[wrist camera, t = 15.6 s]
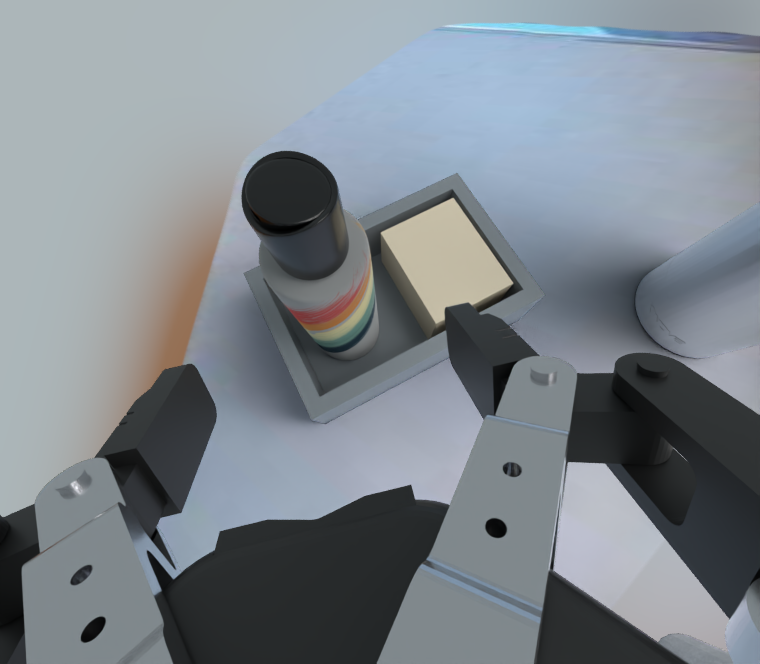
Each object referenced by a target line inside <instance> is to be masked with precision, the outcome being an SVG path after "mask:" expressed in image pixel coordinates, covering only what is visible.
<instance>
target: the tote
mask: <svg viewBox="0 0 760 664" xmlns="http://www.w3.org/2000/svg"><path fill="white" fill-rule="evenodd" d="M452 198H454V199H455V201H456V202H457V203H458V205H459V206H460V208H461V209H462V211H463V212H464V213H465V215H466V216H467V218H468V219H469V221H470V222H471V223H472V225H473V226H474V228H475V229H476V231H477V232H478V233H479V235H480V236H481V238H482V239H483V241H484V242H485V243H486V245H487V246H488V248H489V249H490V251H491V252H492V253H493V255H494V256H495V258H496V259H497V261H498V262H499V263H500V265H501V266H502V268H503V269H504V271H505V272H506V273H507V275H508V276H509V278H510V279H511V281H512V282H513V285H512V286H511V287H510V288H509V290H508V291H507V292H506V293H505V295H504V296H503V297H502V298H501V300H500V301H499V302H498V303H497V304H495V305H493V306H491V307H489V308H487V309H485V310H484V311H482V312H480V313H479V314H480V315H482V314H487V313H489V314H491V315H494V316H496V317H498V318H501V319H502V320H503V321H504V322H505V323H506V324H507V325H510V324H512V323H514V322H516V321H518V320H519V319H520V318H521V317H522V316H524V315H525V314H526V313H527V312H528V311H529V310H530V309H531V308H532V307H533V306H534V305H535V304H536V303H538V302H539V301H540V300H541V299H542V298H543V297H544V296H545V294H544V292H543V291H542V290H541V288H540V287H539V285H538V284H537V283H536V281H535V280H534V279H533V277H532V276H531V274H530V273H529V272H528V270H527V269H526V267H525V266H524V265H523V263H522V262H521V261H520V259H519V258H518V256H517V255H516V254H515V252H514V251H513V249H512V248H511V247H510V245H509V244H508V243H507V241H506V240H505V238H504V237H503V236H502V234H501V233H500V231H499V230H498V229H497V227H496V226H495V225H494V223H493V222H492V220H491V219H490V218H489V216H488V215H487V213H486V212H485V211H484V209H483V208H482V207H481V205H480V204H479V202H478V201H477V200H476V198H475V197H474V195H473V194H472V193H471V191H470V190H469V189H468V187H467V186H466V184H465V183H464V182H463V180H462V179H461V177H460V176H459V175H458V173H456V174H454V175H452V176H450V177H447V178H445V179H443V180H441V181H439V182H437V183H435V184H433V185H430V186H428V187H426V188H424V189H422V190H420V191H418V192H416V193H413V194H411V195H409V196H407V197H405V198H403V199H401V200H398V201H396V202H394V203H392V204H390V205H388V206H386V207H384V208H381V209H379V210H377V211H375V212H373V213H371V214H369V215H367V216H364V217H362V218H360V219H358V221H359V223H360V224H361V225H362V227H363V229H364V231H365V233H366V235H367V238H368V242H369V247H370V253H371V261H372V269H373V278H374V286H375V294H376V303H377V311H378V320H379V334H378V338H377V341H376V343H375V345H374V346H373V348H372V349H371V350H370V351H369V352H368V353H367V354H366V355H364V356H362V357H361V358H358V359H355V360H349V361H344V360H338V359H335V358H333V357H331V356H330V355H328V354H327V353H325V352H324V351H323V350H322V349H321V348H320V346H319V345H318V344H317V343H316V342H315V341H314V339H313V338H312V337H311V336H310V335H309V333H308V332H307V331H306V330H305V329H304V327H303V326H302V325H301V324H300V323H299V321H298V320H297V319H296V318H295V317H294V315H293V314H292V313H291V312H290V311H289V309H288V308H287V307H286V306H285V305H284V303H283V302H282V301H281V300H280V299H279V297H278V296H277V295H276V294H275V292H274V291H273V290H272V289H271V287H270V286H269V285H268V283H267V282H266V280H265V278H264V276H263V274H262V271H261V268H260V266H258V267H256V268H254V269H252V270H250V271H247V272H245V273H244V275H245V277H246V280H247V282H248V284H249V286H250V288H251V290H252V293H253V295H254V297H255V299H256V301H257V303H258V306H259V308H260V310H261V312H262V314H263V316H264V319H265V321H266V323H267V325H268V327H269V329H270V332H271V334H272V336H273V338H274V340H275V342H276V345H277V347H278V349H279V351H280V353H281V355H282V357H283V360H284V362H285V364H286V366H287V368H288V370H289V373H290V375H291V377H292V379H293V381H294V383H295V386H296V388H297V390H298V392H299V394H300V396H301V399H302V401H303V403H304V405H305V407H306V409H307V412H308V414H309V416H310V418H311V420H313V421H317V422H320V423H324V424H326V423H328V422H330V421H332V420H334V419H335V418H337V417H339V416H341V415H343V414H345V413H347V412H348V411H350V410H352V409H354V408H356V407H358V406H360V405H361V404H363V403H365V402H367V401H369V400H371V399H373V398H374V397H376V396H378V395H380V394H382V393H384V392H386V391H388V390H389V389H391V388H393V387H395V386H397V385H399V384H401V383H402V382H404V381H406V380H408V379H410V378H412V377H414V376H415V375H417V374H419V373H421V372H423V371H425V370H427V369H428V368H430V367H432V366H434V365H436V364H438V363H440V362H441V361H443V360H445V359H447V358H449V353H448V345H447V335H446V331H444V332H442V333H440V334H438V335H436V336H434V337H432V338H430V339H429V340H428V339H427V337H426V335H425V334H424V332H423V330H422V328H421V327H420V325H419V323H418V322H417V320H416V318H415V317H414V315H413V313H412V312H411V310H410V308H409V307H408V305H407V303H406V302H405V300H404V298H403V296H402V295H401V293H400V291H399V290H398V288H397V286H396V285H395V283H394V281H393V280H392V278H391V276H390V275H389V273H388V271H387V270H386V268H385V266H384V264H383V263H382V259H381V232H383V231H385V230H387V229H389V228H391V227H393V226H395V225H397V224H399V223H402V222H404V221H406V220H408V219H410V218H412V217H414V216H416V215H418V214H420V213H422V212H424V211H427V210H429V209H431V208H433V207H435V206H437V205H439V204H441V203H443V202H445V201H447V200H450V199H452Z"/></svg>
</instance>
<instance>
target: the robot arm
mask: <svg viewBox="0 0 760 664" xmlns="http://www.w3.org/2000/svg"><path fill="white" fill-rule="evenodd" d="M635 305H636V311H637V315H638V317H639V320H640V322H641V324H642V326H643V327H644V329H645V330H646V332H647V333H648V334H649V335H650V336H651V337H652V338H653V339H654V340H655V341H656V342H657V343H659V344H660V345H661V346H662V347H664V348H666V349H667V350H669V351H671V352H673V353H675V354H678V355H682V356H685V357H691V358H708V357H712V356H716V355H720V354H724V353H728V352H731V351H735V350H739V349H743V348H747V347H751V346H756V345H759V344H760V202H758V203H757V204H755V205H754V206H752V207H750V208H749V209H747V210H746V211H744V212H743V213H741V214H740V215H738V216H736V217H735V218H733V219H732V220H730V221H729V222H727V223H726V224H724V225H722V226H721V227H719V228H718V229H716V230H715V231H713V232H712V233H710V234H708V235H707V236H705V237H704V238H702V239H701V240H699V241H698V242H696V243H695V244H693V245H691V246H690V247H688V248H687V249H685V250H683V251H682V252H680V253H679V254H677V255H676V256H674V257H672V258H671V259H669V260H668V261H666V262H665V263H663V264H662V265H660V266H658V267H657V268H655V269H654V270H652V271H651V272H649V273H648V274H647V275H646V276H645V277H644V278H643V279H642V281H641V282H640V284H639V285H638V288H637V291H636V297H635ZM444 314H445V325H446V335H447V345H448V353H449V357H450V361H451V364H452V366H453V368H454V370H455V372H456V373H457V375H458V377H459V378H460V380H461V382H462V383H463V385H464V387H465V389H466V390H467V392H468V394H469V395H470V397H471V399H472V401H473V402H474V404H475V406H476V407H477V409H478V411H479V412H480V414H481V416H482V418H483V419H484V421H483V424H482V426H481V429H480V431H479V434H478V436H477V439H476V441H475V444H474V446H473V449H472V451H471V454H470V456H469V459H468V461H467V464H466V466H465V469H464V471H463V474H462V476H461V479H460V481H459V484H458V486H457V489H456V491H455V494H454V496H453V499H452V501H451V504H450V505H448V504H445V503H441V502H437V501H429V500H415V498H414V494H413V490H412V486H411V485H408V486H404V487H400V488H396V489H392V490H388V491H384V492H380V493H375V494H371V495H367V496H364V497H362V498H360V499H358V500H356V501H354V502H352V503H350V504H348V505H346V506H344V507H342V508H340V509H338V510H336V511H334V512H332V513H330V514H327V515H325V516H323V517H321V518H319V519H315V520H265V521H261V522H257V523H252V524H248V525H244V526H240V527H236V528H232V529H228V530H224V531H220V533H219V537H218V541H217V544H216V548H215V551H213V552H211V553H209V554H207V555H206V556H204V557H202V558H201V559H199V560H197V561H196V562H195V563H193V564H192V565H190V566H189V567H188V568H186V569H185V570H184V571H183V572H181V570H180V568H179V566H178V564H177V562H176V560H175V558H174V556H173V554H172V552H171V549H170V547H169V545H168V543H167V541H166V539H165V537H164V535H163V533H162V532H161V531H160V529H159V528H158V527H157V524H158V522H159V520H160V518H162V517H166V516H170V515H174V514H178V513H181V512H182V509H183V507H184V504H185V501H186V499H187V496H188V494H189V491H190V488H191V486H192V483H193V480H194V478H195V475H196V473H197V470H198V467H199V465H200V462H201V459H202V457H203V454H204V452H205V449H206V446H207V444H208V441H209V438H210V436H211V433H212V431H213V428H214V425H215V423H216V417H217V413H216V407H215V404H214V401H213V399H212V397H211V395H210V393H209V391H208V389H207V387H206V386H205V384H204V382H203V380H202V378H201V376H200V374H199V372H198V370H197V368H196V367H195V366H194V365H193V364H187V365H182V366H178V367H173V368H169V369H165V370H164V371H163V372H162V373H161V375H160V376H159V378H158V379H157V380H156V382H155V383H154V385H153V386H152V387H151V389H149V390H148V391H147V392H146V393H144V394H143V395H142V396H141V397H140V398H139V399H137V400H136V401H135V402H134V404H133V405H132V406H131V408H130V409H129V411H128V412H127V415H126V416H124V418H123V419H122V420H121V422H120V423H119V426H117V427H116V429H115V430H114V431H113V433H112V434H111V436H110V437H109V438H108V440H107V441H106V442H105V444H104V445H103V447H102V448H101V450H100V451H99V452H98V453H97V455H96V456H95V458H92V459H88V460H85V461H82V462H80V463H77V464H75V465H73V466H71V467H69V468H68V469H66V470H64V471H63V472H61V473H60V474H58V475H57V476H56V477H54V478H53V479H52V480H51V481H50V482H49V483H47V484H46V486H45V487H44V488H43V489H42V490H41V491H40V493H39V494H38V496H37V498H36V500H35V504H33V505H31V506H29V507H26V508H24V509H22V510H20V511H17V512H15V513H12V514H10V515H8V516H6V517H2V516H1V515H0V664H689V663H688V662H686V661H685V660H683V659H682V658H680V657H679V656H677V655H676V654H674V653H673V652H672V651H670V650H669V649H667V648H666V647H664V646H663V645H661V644H660V643H658V642H657V641H655V640H654V639H653V638H651V637H649V636H648V635H647V634H645V633H644V632H642V631H641V630H639V629H638V628H636V627H635V626H633V625H632V624H630V623H629V622H628V621H626V620H625V619H623V618H622V617H620V616H619V615H617V614H616V613H614V612H613V611H612V610H610V609H609V608H607V607H606V606H604V605H603V604H601V603H600V602H598V601H597V600H595V599H594V598H593V597H591V596H590V595H588V594H587V593H585V592H584V591H582V590H581V589H579V588H578V587H576V586H575V585H574V584H572V583H571V582H569V581H568V580H566V579H565V578H563V577H562V576H560V575H559V574H557V573H556V572H554V566H555V558H556V550H557V542H558V534H559V525H560V518H561V510H562V503H563V496H564V488H565V481H566V473H567V466H568V462H584V463H605V464H606V465H607V466H608V467H609V469H610V470H611V471H612V472H613V474H614V475H615V476H616V477H617V479H618V480H619V481H620V482H621V484H622V485H623V486H624V487H625V489H626V490H627V491H628V493H629V494H630V495H631V496H632V498H633V499H634V500H635V501H636V503H637V504H638V505H639V506H640V508H641V509H642V510H643V511H644V513H645V514H646V515H647V516H648V518H649V519H650V520H651V521H652V523H653V524H654V525H655V526H656V528H657V529H658V530H659V531H660V533H661V534H662V535H663V536H664V538H665V539H666V540H667V541H668V542H669V544H670V545H671V546H672V548H673V549H674V550H675V551H676V553H677V554H678V555H679V556H680V558H681V559H682V560H683V561H684V563H685V564H686V565H687V567H688V568H689V569H690V570H691V572H692V573H693V574H694V575H695V577H697V579H698V580H699V582H700V583H701V584H702V585H703V587H704V588H705V589H706V590H707V592H708V593H709V594H710V595H711V597H712V598H713V599H714V600H715V602H716V603H717V604H718V605H719V607H720V608H721V609H722V610H723V612H725V614H726V615H727V617H728V618H729V619H730V620H729V622H728V624H727V627H726V632H725V639H726V645H727V648H728V652H729V655H730V657H731V659H732V661H733V663H734V664H760V415H759V414H757V413H756V412H754V411H753V410H751V409H750V408H748V407H747V406H745V405H744V404H742V403H741V402H739V401H738V400H736V399H735V398H733V397H732V396H730V395H729V394H727V393H726V392H724V391H723V390H721V389H720V388H718V387H717V386H715V385H714V384H712V383H711V382H709V381H708V380H706V379H705V378H703V377H702V376H700V375H699V374H697V373H696V372H694V371H693V370H691V369H690V368H688V367H687V366H685V365H684V364H682V363H680V362H679V361H677V360H674V359H672V358H669V357H666V356H662V355H658V354H651V353H633V354H628V355H625V356H622V357H621V358H619V359H618V360H617V361H616V363H615V368H614V373H595V374H580V373H576V370H575V369H574V368H573V367H572V366H571V365H570V364H569V363H567V362H565V361H563V360H561V359H558V358H554V357H549V356H539V355H538V354H537V353H536V352H535V351H534V350H533V349H532V348H531V347H530V346H529V345H528V344H527V343H526V342H525V341H524V340H523V339H522V338H521V337H520V336H519V335H518V336H517V333H516V332H515V331H514V330H513V329H510V326H508V325H507V324H506V323H505V322H504V321H503V320H502V319H501V318H498V317H496V316H494V315H491V314H489V313H487V314H482V315H480V314H479V313H478V311H477V310H476V309H475V308H474V307H473V306H472V305H471V304H470V303H469V302H467V303H462V304H458V305H453V306H449V307H446V308H445V311H444ZM673 448H675V449H676V450H677V451H678V452H679V453H680V454H681V455H682V456H683V457H684V458H685V459H686V460H687V461H688V462H687V461H686V460H685V459H684V458H683V457H682V456H681V455H680V454H679V453H678V452H677V451H676V450H675V449H673Z"/></svg>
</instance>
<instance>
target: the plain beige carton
mask: <svg viewBox="0 0 760 664" xmlns="http://www.w3.org/2000/svg"><path fill="white" fill-rule="evenodd" d="M381 259H382V263H383V264H384V266H385V268H386V270H387V271H388V273H389V275H390V276H391V278H392V280H393V281H394V283H395V285H396V286H397V288H398V290H399V291H400V293H401V295H402V296H403V298H404V300H405V302H406V303H407V305H408V307H409V308H410V310H411V312H412V313H413V315H414V317H415V318H416V320H417V322H418V323H419V325H420V327H421V328H422V330H423V332H424V334H425V335H426V337H427V339H428V340H429V339H430V338H432V337H434V336H436V335H438V334H440V333H442V332H444V331H446V325H445V314H444V311H445V308H446V307H449V306H453V305H458V304H462V303H467V302H469V303H470V304H471V305H472V306H473V307H474V308H475V309H476V310H477V311H478V313H480V312H482V311H484V310H485V309H487V308H489V307H491V306H493V305H495V304H497V303H498V302H499V301H500V300H501V298H502V297H503V296H504V295H505V293H506V292H507V291H508V290H509V288H510V287H511V286H512V285H513V282H512V281H511V279H510V278H509V276H508V275H507V273H506V272H505V271H504V269H503V268H502V266H501V265H500V263H499V262H498V261H497V259H496V258H495V256H494V255H493V253H492V252H491V251H490V249H489V248H488V246H487V245H486V243H485V242H484V241H483V239H482V238H481V236H480V235H479V233H478V232H477V231H476V229H475V228H474V226H473V225H472V223H471V222H470V221H469V219H468V218H467V216H466V215H465V213H464V212H463V211H462V209H461V208H460V206H459V205H458V203H457V202H456V201H455V199H454V198H452V199H450V200H447V201H445V202H443V203H441V204H439V205H437V206H435V207H433V208H431V209H429V210H427V211H424V212H422V213H420V214H418V215H416V216H414V217H412V218H410V219H408V220H406V221H404V222H402V223H399V224H397V225H395V226H393V227H391V228H389V229H387V230H385V231H383V232H381Z"/></svg>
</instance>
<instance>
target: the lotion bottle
mask: <svg viewBox="0 0 760 664" xmlns="http://www.w3.org/2000/svg"><path fill="white" fill-rule="evenodd" d="M242 207H243V211H244V214H245V216H246V218H247V220H248V222H249V224H250V225H251V227H252V228H253V230H254V231H255V232H256V234H257V235H258V237H259V238H260V240H261V244H260V248H259V264H260V268H261V271H262V274H263V276H264V278H265V280H266V282H267V283H268V285H269V286H270V287H271V289H272V290H273V291H274V292H275V294H276V295H277V296H278V297H279V299H280V300H281V301H282V302H283V303H284V305H285V306H286V307H287V308H288V309H289V311H290V312H291V313H292V314H293V315H294V317H295V318H296V319H297V320H298V321H299V323H300V324H301V325H302V326H303V327H304V329H305V330H306V331H307V332H308V333H309V335H310V336H311V337H312V338H313V339H314V341H315V342H316V343H317V344H318V345H319V346H320V348H321V349H322V350H323V351H324V352H325V353H327V354H328V355H330V356H331V357H333V358H335V359H338V360H344V361H349V360H355V359H358V358H361V357H362V356H364V355H366V354H367V353H368V352H369V351H370V350H371V349H372V348H373V346H374V345H375V343H376V341H377V338H378V334H379V320H378V311H377V303H376V294H375V286H374V278H373V269H372V261H371V253H370V247H369V242H368V238H367V235H366V233H365V231H364V229H363V227H362V225H361V224H360V223H359V221H358V220H357V219H356V218H355V217H354V216H353V215H352V214H350V213H349V212H348V211H346V210H344V209H343V208H342V203H341V198H340V194H339V189H338V186H337V182H336V180H335V178H334V176H333V175H332V173H331V172H330V171H329V170H328V168H327V167H325V166H324V165H323V164H322V163H321V162H319V161H318V160H316V159H315V158H313V157H311V156H309V155H306V154H303V153H300V152H294V151H280V152H275V153H271V154H269V155H267V156H265V157H263V158H262V159H260V160H259V161H258V162H257V163H255V164H254V166H253V167H252V168H251V169H250V171H249V172H248V174H247V176H246V178H245V181H244V184H243V188H242Z"/></svg>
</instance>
